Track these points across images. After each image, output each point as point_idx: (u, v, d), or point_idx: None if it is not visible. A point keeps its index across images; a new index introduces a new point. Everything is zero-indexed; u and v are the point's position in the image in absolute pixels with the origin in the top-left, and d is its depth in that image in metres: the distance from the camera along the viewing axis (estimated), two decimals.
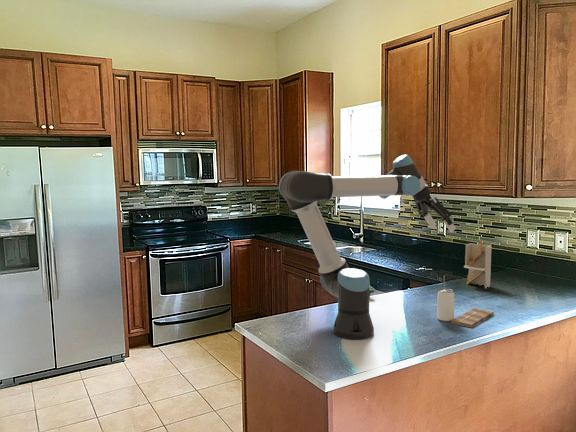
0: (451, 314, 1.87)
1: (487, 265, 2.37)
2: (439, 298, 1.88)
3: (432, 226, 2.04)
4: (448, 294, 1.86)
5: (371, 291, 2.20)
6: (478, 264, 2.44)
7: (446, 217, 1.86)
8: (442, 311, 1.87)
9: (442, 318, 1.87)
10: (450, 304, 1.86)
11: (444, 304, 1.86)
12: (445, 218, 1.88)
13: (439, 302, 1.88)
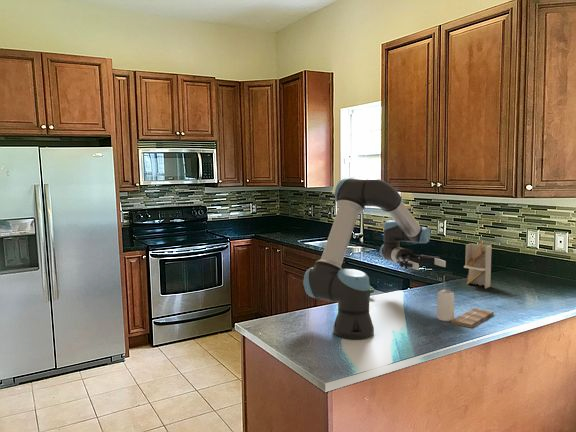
0: (451, 314, 1.87)
1: (487, 265, 2.37)
2: (439, 298, 1.88)
3: None
4: (448, 294, 1.86)
5: (371, 291, 2.20)
6: (478, 264, 2.44)
7: (439, 257, 2.07)
8: (442, 311, 1.87)
9: (442, 318, 1.87)
10: (450, 304, 1.86)
11: (444, 304, 1.86)
12: (437, 258, 2.06)
13: (439, 302, 1.88)
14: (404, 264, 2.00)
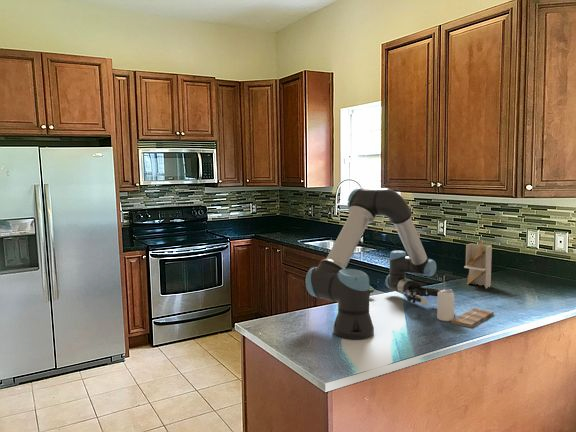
0: (451, 314, 1.87)
1: (487, 265, 2.37)
2: (439, 298, 1.88)
3: None
4: (448, 294, 1.86)
5: (371, 291, 2.20)
6: (478, 264, 2.43)
7: None
8: (442, 311, 1.87)
9: (442, 318, 1.87)
10: (450, 304, 1.86)
11: (444, 304, 1.86)
12: None
13: (439, 302, 1.88)
14: (412, 298, 1.97)
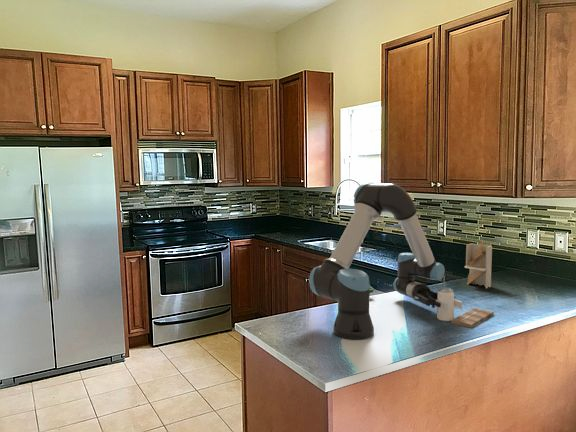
0: (451, 314, 1.87)
1: (488, 265, 2.37)
2: (439, 298, 1.88)
3: None
4: (448, 294, 1.86)
5: (370, 291, 2.20)
6: (479, 264, 2.43)
7: (454, 296, 1.94)
8: (442, 311, 1.87)
9: (442, 318, 1.87)
10: (450, 304, 1.86)
11: None
12: None
13: None
14: (431, 303, 1.89)
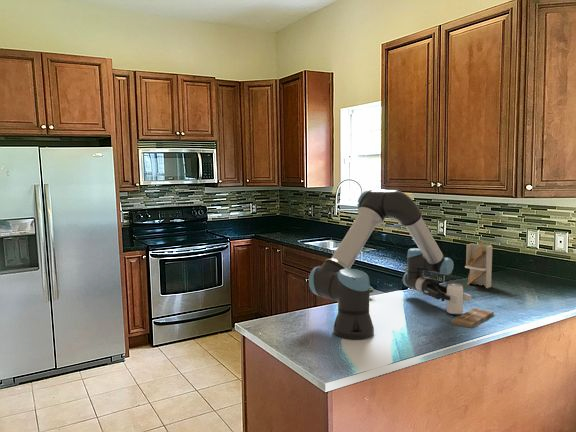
0: (460, 307, 1.92)
1: (488, 265, 2.36)
2: (448, 292, 1.93)
3: None
4: (457, 287, 1.91)
5: (370, 291, 2.20)
6: (479, 264, 2.43)
7: (463, 290, 1.99)
8: (451, 304, 1.92)
9: (452, 311, 1.93)
10: (459, 297, 1.91)
11: None
12: None
13: None
14: (441, 296, 1.94)
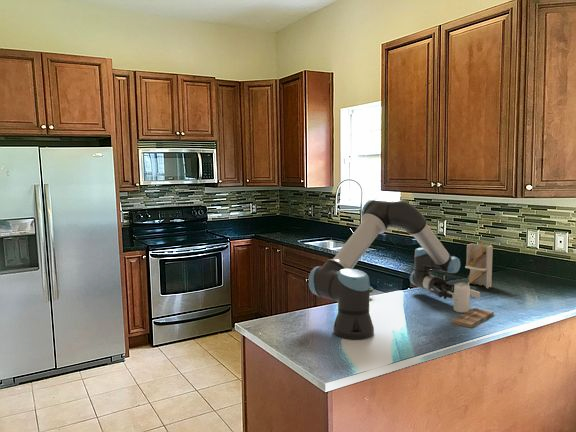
0: (467, 306, 1.97)
1: (488, 265, 2.36)
2: (456, 291, 1.98)
3: None
4: (464, 287, 1.97)
5: (370, 291, 2.21)
6: (479, 264, 2.43)
7: (471, 287, 2.06)
8: (458, 303, 1.98)
9: (459, 309, 1.98)
10: (466, 296, 1.97)
11: (460, 297, 1.97)
12: (470, 289, 2.05)
13: None
14: (443, 294, 2.00)
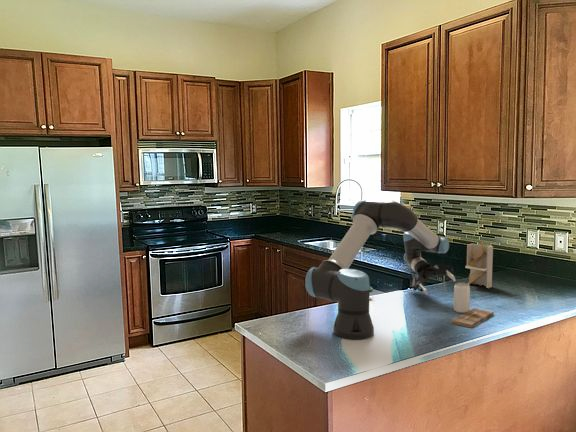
0: (467, 306, 1.97)
1: (489, 265, 2.36)
2: (456, 291, 1.98)
3: None
4: (464, 287, 1.97)
5: (369, 290, 2.21)
6: (480, 264, 2.43)
7: (451, 266, 2.13)
8: (458, 303, 1.98)
9: (459, 309, 1.98)
10: (466, 296, 1.97)
11: (460, 297, 1.97)
12: (449, 269, 2.12)
13: (456, 295, 1.99)
14: (416, 288, 2.13)
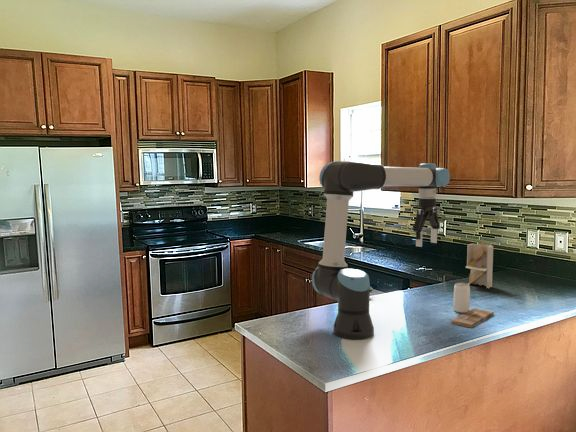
0: (467, 306, 1.97)
1: (489, 265, 2.36)
2: (456, 291, 1.98)
3: (432, 241, 2.17)
4: (464, 287, 1.97)
5: None
6: (480, 264, 2.43)
7: (413, 228, 2.05)
8: (458, 303, 1.98)
9: (459, 309, 1.98)
10: (466, 296, 1.97)
11: (460, 297, 1.97)
12: (415, 230, 2.06)
13: (456, 295, 1.99)
14: None
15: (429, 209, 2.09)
